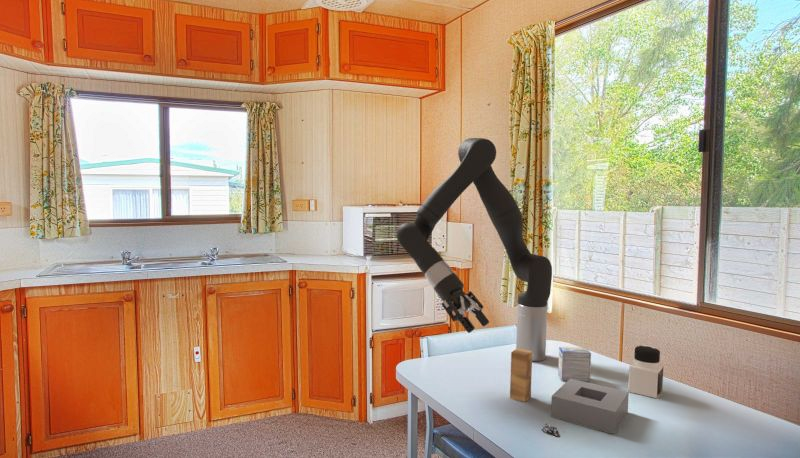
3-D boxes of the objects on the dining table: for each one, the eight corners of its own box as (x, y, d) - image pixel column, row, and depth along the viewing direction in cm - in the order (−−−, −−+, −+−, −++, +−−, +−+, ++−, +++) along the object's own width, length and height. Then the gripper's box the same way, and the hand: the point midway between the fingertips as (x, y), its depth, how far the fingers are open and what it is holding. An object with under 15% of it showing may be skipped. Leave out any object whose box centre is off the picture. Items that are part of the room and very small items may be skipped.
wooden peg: (516, 393, 128) (517, 348, 127) (530, 397, 126) (532, 351, 125) (509, 398, 125) (511, 352, 124) (524, 402, 122) (526, 355, 122)
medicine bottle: (657, 399, 126) (659, 353, 125) (627, 392, 130) (629, 347, 129) (662, 390, 131) (664, 347, 131) (633, 384, 136) (635, 341, 135)
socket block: (569, 397, 126) (570, 378, 126) (627, 412, 118) (628, 391, 117) (550, 416, 115) (551, 395, 114) (614, 434, 106) (615, 412, 106)
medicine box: (585, 376, 141) (587, 347, 140) (590, 382, 136) (591, 352, 136) (557, 375, 142) (558, 346, 141) (561, 381, 137) (562, 351, 137)
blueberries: (553, 425, 112) (553, 416, 112) (578, 438, 105) (577, 429, 105) (529, 430, 110) (528, 421, 110) (552, 444, 102) (552, 434, 102)
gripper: (439, 275, 130) (476, 324, 124) (464, 269, 141) (500, 314, 135) (422, 292, 133) (457, 341, 127) (448, 285, 145) (482, 330, 139)
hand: (479, 327), depth 131 cm, fingers open, 8 cm apart
